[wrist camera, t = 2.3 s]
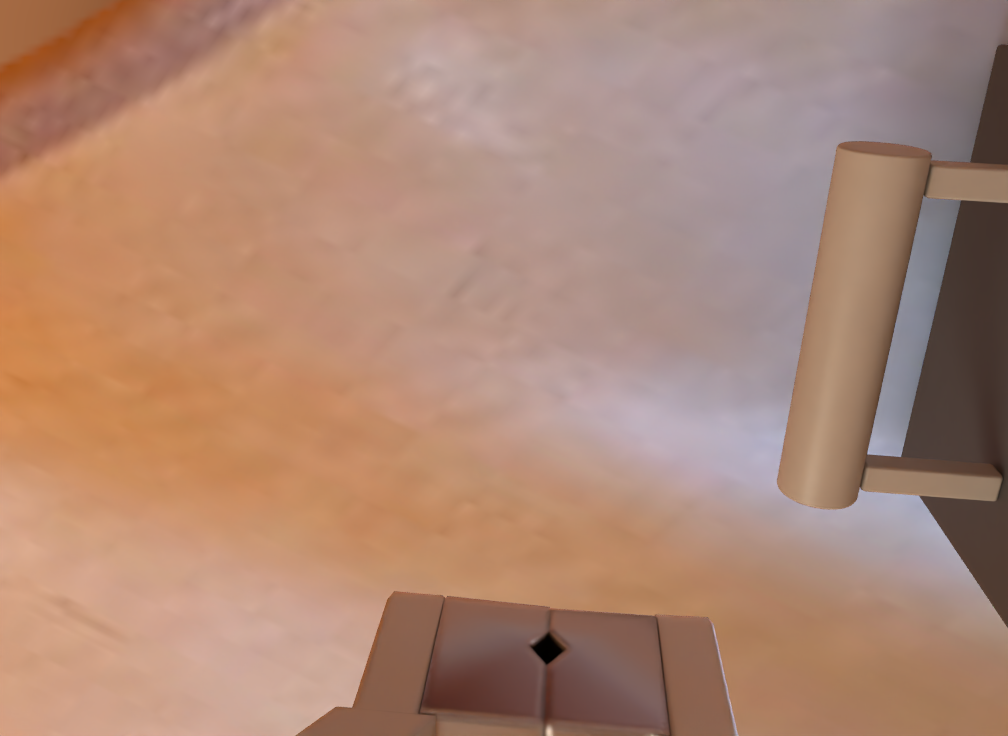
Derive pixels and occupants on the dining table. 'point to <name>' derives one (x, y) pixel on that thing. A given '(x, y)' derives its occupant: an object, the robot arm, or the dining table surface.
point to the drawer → (950, 351)
